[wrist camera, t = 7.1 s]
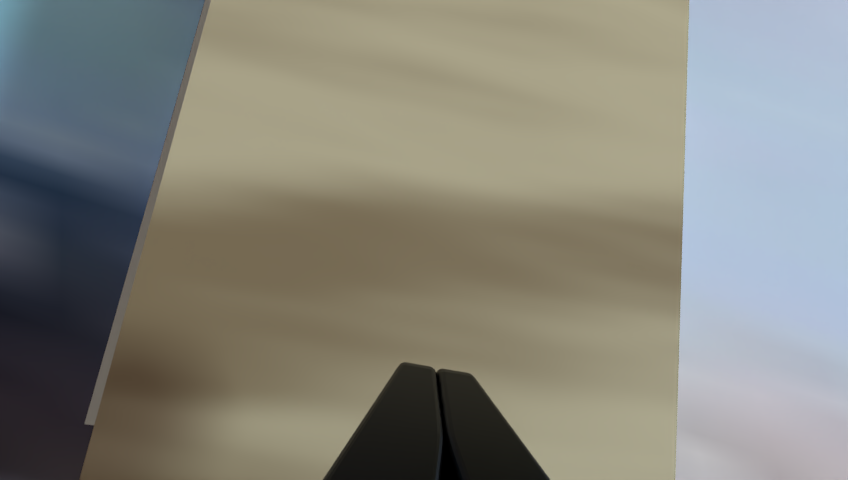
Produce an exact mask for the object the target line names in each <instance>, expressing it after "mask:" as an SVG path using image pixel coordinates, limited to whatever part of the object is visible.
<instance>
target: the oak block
mask: <svg viewBox="0 0 848 480" xmlns="http://www.w3.org/2000/svg"><path fill="white" fill-rule="evenodd" d="M688 22H689V0H211V2H210V6H209V9H208V13H207V17H206V20H205V24H204V28H203V31H202V35H201V39H200V42H199V46H198V49H197V53H196V57H195V60H194V64H193V68H192V71H191V75H190V79H189V82H188V86H187V90H186V93H185V97H184V100H183V104H182V108H181V111H180V115H179V119H178V122H177V126H176V130H175V133H174V137H173V140H172V144H171V148H170V151H169V155H168V159H167V162H166V166H165V170H164V173H163V177H162V181H161V184H160V188H159V191H158V195H157V199H156V202H155V206H154V210H153V213H152V217H151V221H150V224H149V228H148V231H147V235H146V239H145V242H144V246H143V250H142V253H141V257H140V261H139V264H138V268H137V271H136V275H135V279H134V282H133V286H132V290H131V293H130V297H129V301H128V304H127V308H126V312H125V315H124V319H123V322H122V326H121V330H120V333H119V337H118V341H117V344H116V348H115V352H114V355H113V359H112V362H111V366H110V370H109V373H108V377H107V381H106V384H105V388H104V392H103V395H102V399H101V403H100V406H99V410H98V413H97V417H96V421H95V424H94V428H93V432H92V435H91V439H90V443H89V446H88V450H87V453H86V457H85V461H84V464H83V468H82V472H81V475H80V479H79V480H323V478H324V477H325V475H326V474H327V472H328V471H329V469H330V468H331V466H332V465H333V463H334V462H335V460H336V459H337V457H338V456H339V454H340V453H341V451H342V450H343V448H344V447H345V445H346V444H347V442H348V441H349V439H350V438H351V436H352V435H353V433H354V432H355V430H356V429H357V427H358V426H359V424H360V423H361V421H362V420H363V418H364V417H365V415H366V414H367V412H368V411H369V409H370V408H371V406H372V405H373V403H374V402H375V400H376V399H377V397H378V396H379V394H380V393H381V391H382V390H383V388H384V387H385V385H386V384H387V382H388V381H389V379H390V378H391V376H392V375H393V373H394V372H395V370H396V369H397V367H398V366H399V365H400V364H401V363H403V362H408V363H414V364H420V365H425V366H430V367H432V368H434V369H435V371H436V372H437V371H438V370H439V369H449V370H455V371H461V372H467V373H470V374H472V375H473V376H474V377H475V378H476V380H477V381H478V382H479V384H480V385H481V386H482V388H483V389H484V390H485V392H486V393H487V395H488V396H489V397H490V399H491V400H492V401H493V403H494V404H495V405H496V407H497V408H498V409H499V411H500V412H501V413H502V415H503V416H504V418H505V419H506V420H507V422H508V423H509V424H510V426H511V427H512V428H513V430H514V431H515V432H516V434H517V435H518V436H519V438H520V439H521V441H522V442H523V443H524V445H525V446H526V447H527V449H528V450H529V451H530V453H531V454H532V455H533V457H534V458H535V459H536V461H537V462H538V463H539V465H540V466H541V468H542V469H543V470H544V472H545V473H546V474H547V476H548V477H549V478H550V480H675V467H676V433H677V399H678V365H679V330H680V296H681V262H682V228H683V193H684V159H685V125H686V90H687V56H688Z"/></svg>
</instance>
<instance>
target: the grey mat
mask: <svg viewBox="0 0 848 480" xmlns="http://www.w3.org/2000/svg"><path fill="white" fill-rule="evenodd" d="M210 2H211V0H205V2H204V6H203V9H202V13H201V16H200V20H199V23H198V27H197V30H196V34H195V37H194V41H193V44H192V48H191V51H190V55H189V58H188V62H187V65H186V69H185V72H184V76H183V79H182V83H181V86H180V90H179V93H178V97H177V100H176V104H175V107H174V111H173V114H172V118H171V121H170V125H169V128H168V132H167V136H166V139H165V143H164V146H163V150H162V153H161V157H160V160H159V164H158V167H157V171H156V174H155V178H154V181H153V185H152V188H151V192H150V195H149V199H148V202H147V206H146V209H145V213H144V216H143V220H142V223H141V227H140V230H139V234H138V237H137V241H136V244H135V248H134V251H133V255H132V258H131V262H130V265H129V269H128V272H127V276H126V279H125V283H124V286H123V290H122V294H121V297H120V301H119V304H118V308H117V311H116V315H115V318H114V322H113V325H112V329H111V332H110V336H109V339H108V343H107V346H106V350H105V353H104V357H103V360H102V364H101V367H100V371H99V374H98V378H97V381H96V385H95V388H94V392H93V395H92V399H91V402H90V406H89V409H88V413H87V416H86V420H85V423H84V424H88V425H94V424H95V421H96V417H97V413H98V410H99V406H100V403H101V399H102V395H103V392H104V388H105V384H106V381H107V377H108V373H109V370H110V366H111V362H112V359H113V355H114V352H115V348H116V344H117V341H118V337H119V333H120V330H121V326H122V322H123V319H124V315H125V312H126V308H127V304H128V301H129V297H130V293H131V290H132V286H133V282H134V279H135V275H136V271H137V268H138V264H139V261H140V257H141V253H142V250H143V246H144V242H145V239H146V235H147V231H148V228H149V224H150V221H151V217H152V213H153V210H154V206H155V202H156V199H157V195H158V191H159V188H160V184H161V181H162V177H163V173H164V170H165V166H166V162H167V159H168V155H169V151H170V148H171V144H172V140H173V137H174V133H175V130H176V126H177V122H178V119H179V115H180V111H181V108H182V104H183V100H184V97H185V93H186V90H187V86H188V82H189V79H190V75H191V71H192V68H193V64H194V60H195V57H196V53H197V49H198V46H199V42H200V39H201V35H202V31H203V28H204V24H205V20H206V17H207V13H208V9H209V6H210Z"/></svg>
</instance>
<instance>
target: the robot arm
mask: <svg viewBox="0 0 848 480" xmlns="http://www.w3.org/2000/svg"><path fill="white" fill-rule="evenodd" d="M323 480H550V478H549V477H548V476H547V474H546V473H545V472H544V470H543V469H542V468H541V466H540V465H539V463H538V462H537V461H536V459H535V458H534V457H533V455H532V454H531V453H530V451H529V450H528V449H527V447H526V446H525V445H524V443H523V442H522V441H521V439H520V438H519V436H518V435H517V434H516V432H515V431H514V430H513V428H512V427H511V426H510V424H509V423H508V422H507V420H506V419H505V418H504V416H503V415H502V413H501V412H500V411H499V409H498V408H497V407H496V405H495V404H494V403H493V401H492V400H491V399H490V397H489V396H488V395H487V393H486V392H485V390H484V389H483V388H482V386H481V385H480V384H479V382H478V381H477V380H476V378H475V377H474V376H473V375H472V374H470V373H467V372H461V371H455V370H449V369H439V370H438V371H437V372H436V371H435V369H434V368H432V367H430V366H425V365H420V364H414V363H408V362H403V363H401V364H400V365H399V366H398V367H397V369H396V370H395V372H394V373H393V375H392V376H391V378H390V379H389V381H388V382H387V384H386V385H385V387H384V388H383V390H382V391H381V393H380V394H379V396H378V397H377V399H376V400H375V402H374V403H373V405H372V406H371V408H370V409H369V411H368V412H367V414H366V415H365V417H364V418H363V420H362V421H361V423H360V424H359V426H358V427H357V429H356V430H355V432H354V433H353V435H352V436H351V438H350V439H349V441H348V442H347V444H346V445H345V447H344V448H343V450H342V451H341V453H340V454H339V456H338V457H337V459H336V460H335V462H334V463H333V465H332V466H331V468H330V469H329V471H328V472H327V474H326V475H325V477H324V478H323Z"/></svg>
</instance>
